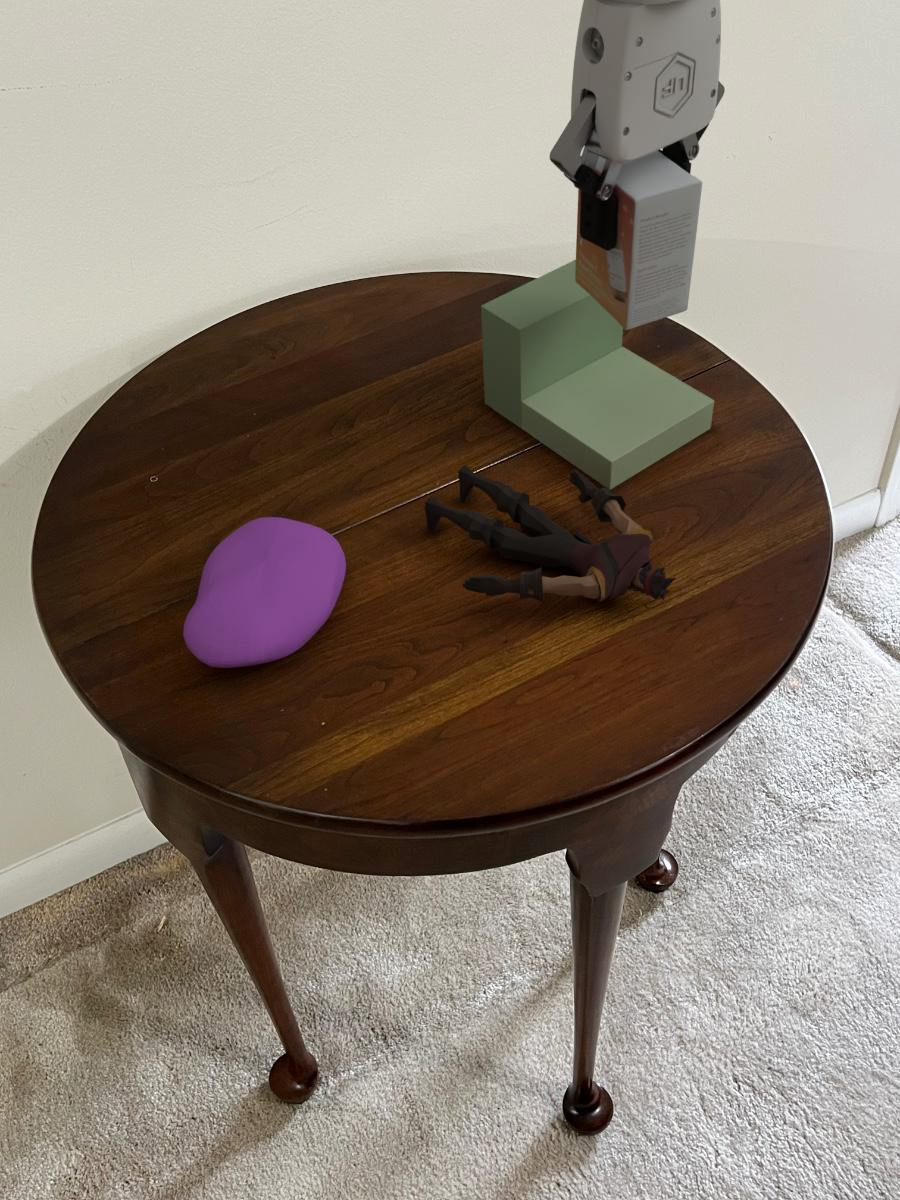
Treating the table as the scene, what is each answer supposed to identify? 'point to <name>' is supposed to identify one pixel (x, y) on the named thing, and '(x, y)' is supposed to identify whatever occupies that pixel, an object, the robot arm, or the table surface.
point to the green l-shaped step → (582, 381)
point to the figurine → (555, 544)
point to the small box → (644, 243)
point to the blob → (264, 593)
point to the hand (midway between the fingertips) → (633, 223)
